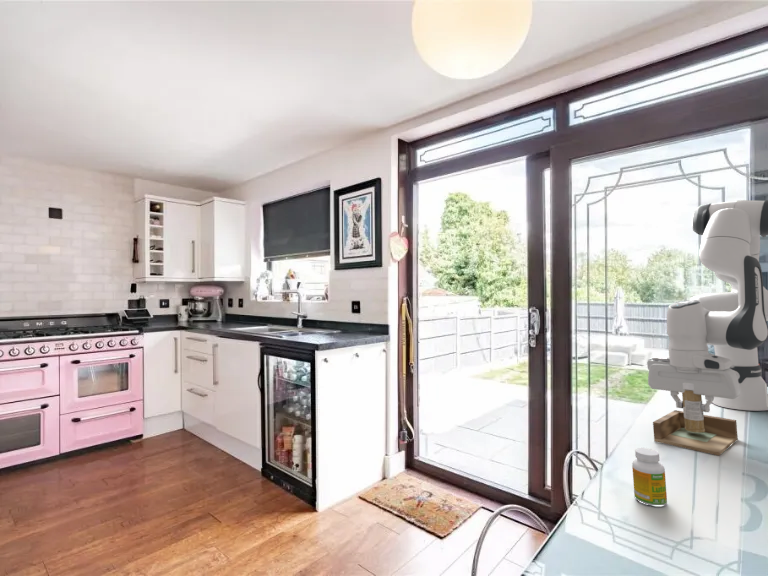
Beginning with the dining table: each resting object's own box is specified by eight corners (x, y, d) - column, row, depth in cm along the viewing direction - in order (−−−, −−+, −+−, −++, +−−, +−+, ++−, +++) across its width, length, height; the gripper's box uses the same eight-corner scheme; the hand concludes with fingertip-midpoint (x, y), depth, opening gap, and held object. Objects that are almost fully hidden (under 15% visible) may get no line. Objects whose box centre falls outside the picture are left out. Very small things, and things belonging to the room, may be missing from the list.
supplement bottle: (655, 510, 75) (651, 458, 75) (628, 498, 80) (624, 449, 80) (673, 503, 77) (669, 453, 78) (645, 492, 82) (642, 444, 82)
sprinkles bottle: (688, 426, 113) (684, 379, 113) (708, 430, 109) (703, 381, 110) (681, 430, 110) (677, 381, 111) (701, 434, 107) (697, 383, 107)
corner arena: (676, 427, 118) (675, 410, 118) (737, 439, 107) (736, 420, 107) (654, 441, 109) (652, 422, 109) (719, 455, 98) (717, 434, 98)
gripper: (642, 357, 117) (645, 405, 116) (732, 364, 100) (737, 419, 100) (651, 355, 121) (654, 401, 120) (739, 361, 104) (743, 414, 104)
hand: (692, 409), depth 110 cm, fingers closed on sprinkles bottle, 4 cm apart
